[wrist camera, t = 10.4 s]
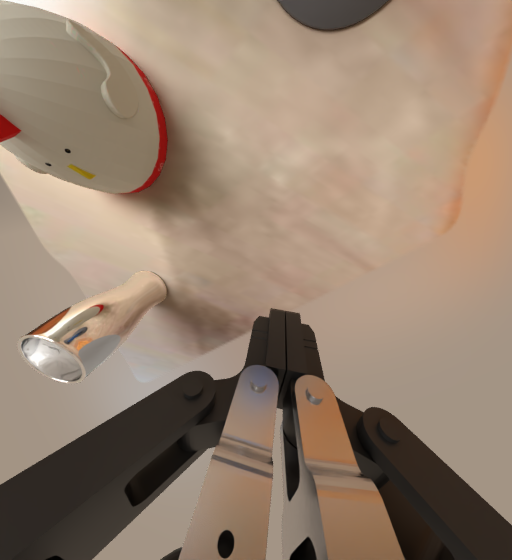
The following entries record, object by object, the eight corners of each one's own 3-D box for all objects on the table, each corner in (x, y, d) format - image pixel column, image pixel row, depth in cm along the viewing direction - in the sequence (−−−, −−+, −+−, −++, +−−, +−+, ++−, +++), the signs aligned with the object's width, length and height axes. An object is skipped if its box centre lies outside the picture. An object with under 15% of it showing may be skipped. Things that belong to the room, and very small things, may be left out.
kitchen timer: (106, 208, 26) (-74, 231, 13) (26, 87, 21) (-405, -80, 8) (189, 165, 23) (56, 135, 9) (116, 5, 18) (-411, -568, 4)
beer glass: (175, 304, 32) (99, 387, 19) (139, 305, 33) (43, 384, 20) (161, 266, 29) (60, 333, 16) (122, 268, 30) (-3, 333, 17)
